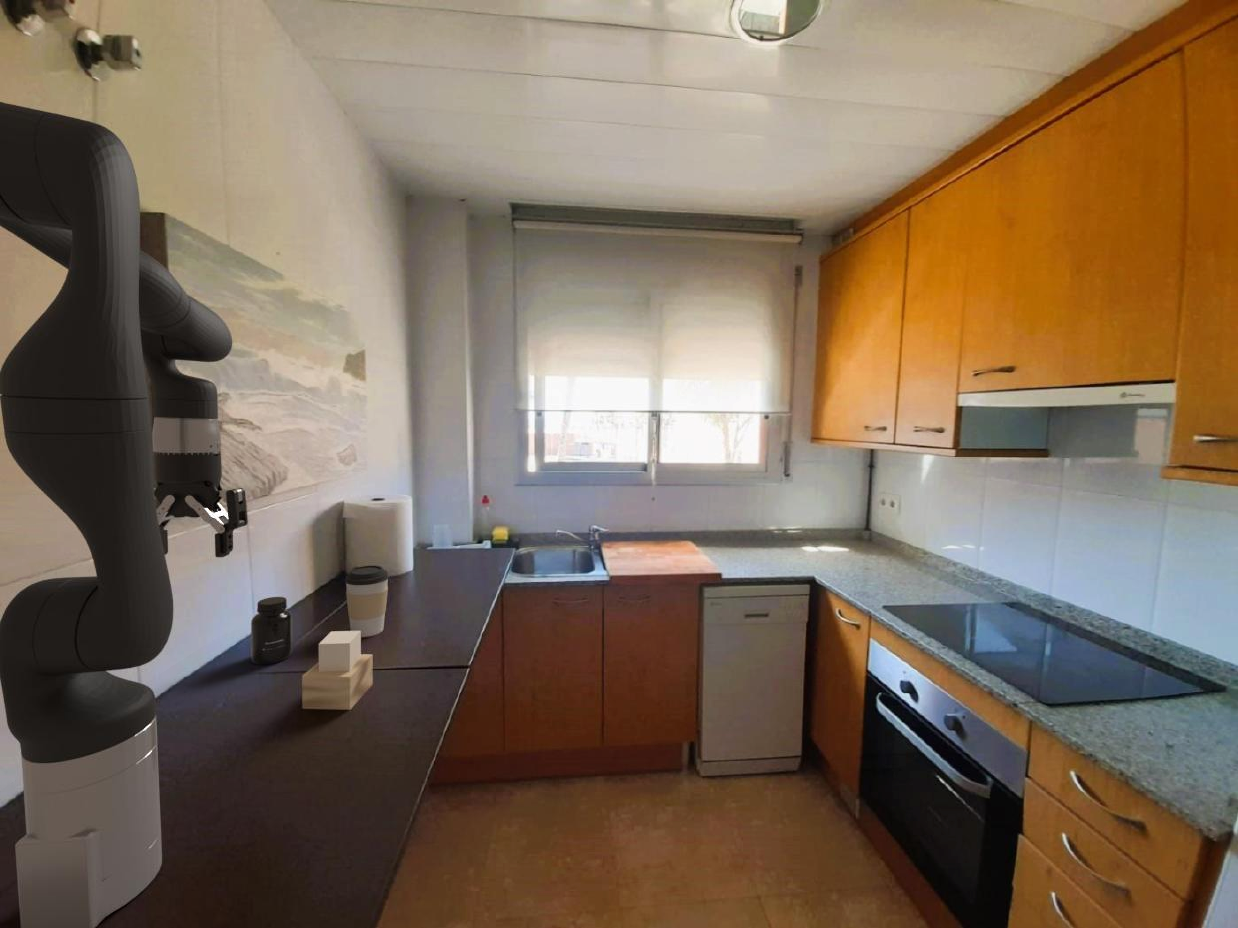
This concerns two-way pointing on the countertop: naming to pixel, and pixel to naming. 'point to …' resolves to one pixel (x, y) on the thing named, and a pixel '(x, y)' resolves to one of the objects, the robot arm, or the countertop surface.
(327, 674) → the oak block
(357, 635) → the cream cube
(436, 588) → the countertop surface
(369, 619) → the coffee cup
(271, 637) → the supplement bottle
